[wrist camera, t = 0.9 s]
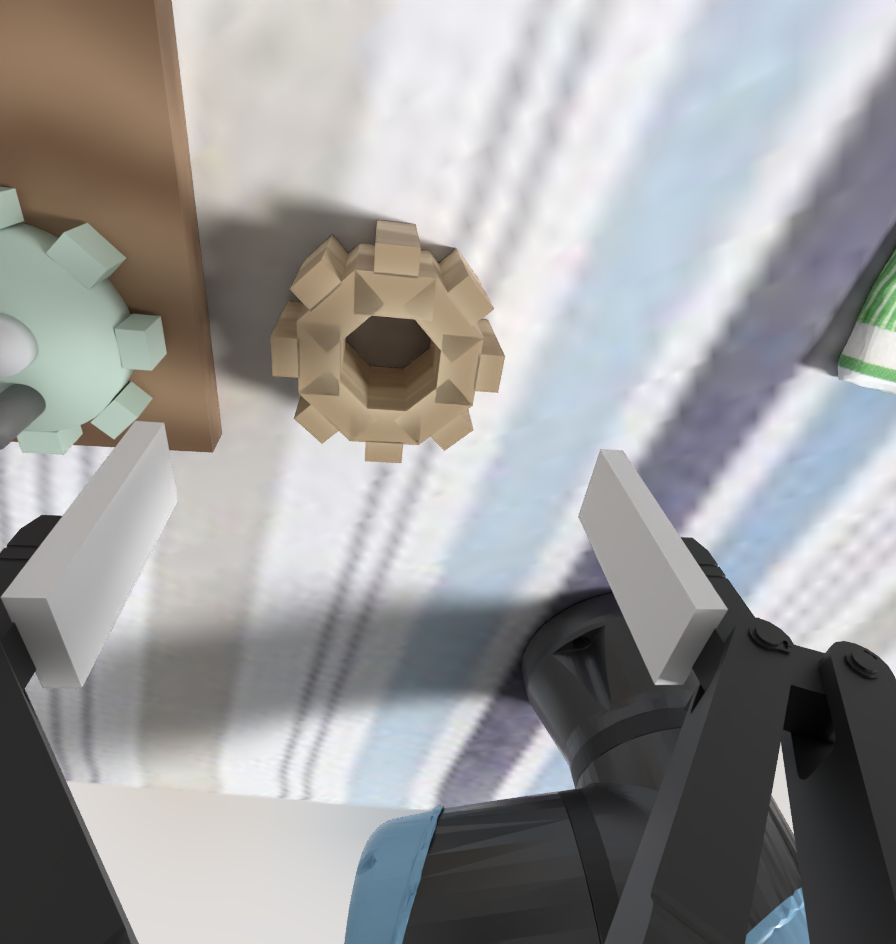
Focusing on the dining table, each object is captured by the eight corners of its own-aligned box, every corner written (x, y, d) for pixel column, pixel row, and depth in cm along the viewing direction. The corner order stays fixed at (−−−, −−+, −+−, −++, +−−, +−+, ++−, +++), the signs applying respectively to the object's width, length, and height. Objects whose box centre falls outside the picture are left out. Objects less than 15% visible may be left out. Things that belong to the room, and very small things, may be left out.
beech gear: (471, 420, 32) (483, 467, 28) (291, 408, 31) (276, 456, 27) (502, 234, 27) (523, 259, 22) (284, 209, 25) (264, 230, 21)
